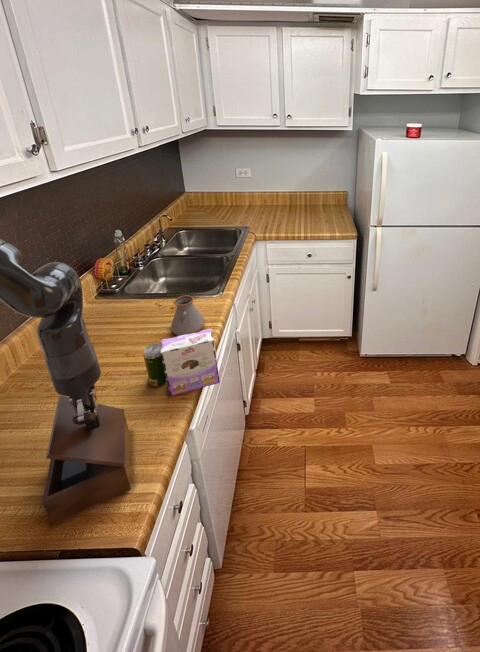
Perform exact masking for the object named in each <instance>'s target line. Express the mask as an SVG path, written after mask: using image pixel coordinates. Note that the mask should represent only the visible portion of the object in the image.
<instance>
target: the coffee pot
mask: <svg viewBox="0 0 480 652" xmlns="http://www.w3.org/2000/svg"><path fill="white" fill-rule="evenodd" d="M194 300H195V299H194V296H193V295H190V294H186V295H181V296H179V297H176V299H175V300H174V301H173V304H174V305H175V306H176V309H175V312H174V315H173V318H172V321H171V325H170V330H171V331H172V333H173V334H174V335H176V336H181V335H186V334H190V333H195V332H199V331H202V329H203V326H204V325H205V317H204V316H203V315H202V314H201V312H200V311H199V309H198V308H197V306H195V304H194Z"/></svg>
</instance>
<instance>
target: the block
mask: <svg viewBox="0 0 480 652" xmlns="http://www.w3.org/2000/svg"><path fill="white" fill-rule="evenodd" d="M89 478H92V463H84V462H75V461H65V462H64V463H63V470H62V477H61V482H62V484H63V487H64V489H66V488H68V487H71V486H73V485H75V484H78V483H80V482H82V481H85V480H87V479H89Z"/></svg>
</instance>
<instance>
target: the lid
mask: <svg viewBox="0 0 480 652" xmlns="http://www.w3.org/2000/svg"><path fill="white" fill-rule="evenodd" d="M97 405H98V407H97V412H98V415H99V418H100V427H99V428H96V429H94V430H91V431H88V430H87V427H86V424H83V425H77V424H74V423H73V417H74V416H75V415H76V412H75V410H74V407H73V406H72V405H71V404H70V402H69V396H63V395H60V396H59V397H58V399H57V404H56V409H55V413H54V418H53V422H52V427H51V433H50V437H49V442H48V446H47V451H46V457H45V459H49V460H51V459H57V460H66V461H75V462H84V463H93V464H102V465H111V466H119V467H123V466H124V464H125V419H124V415H125V408H120V407H114V406H110V405H106V404H100V403H97Z"/></svg>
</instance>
